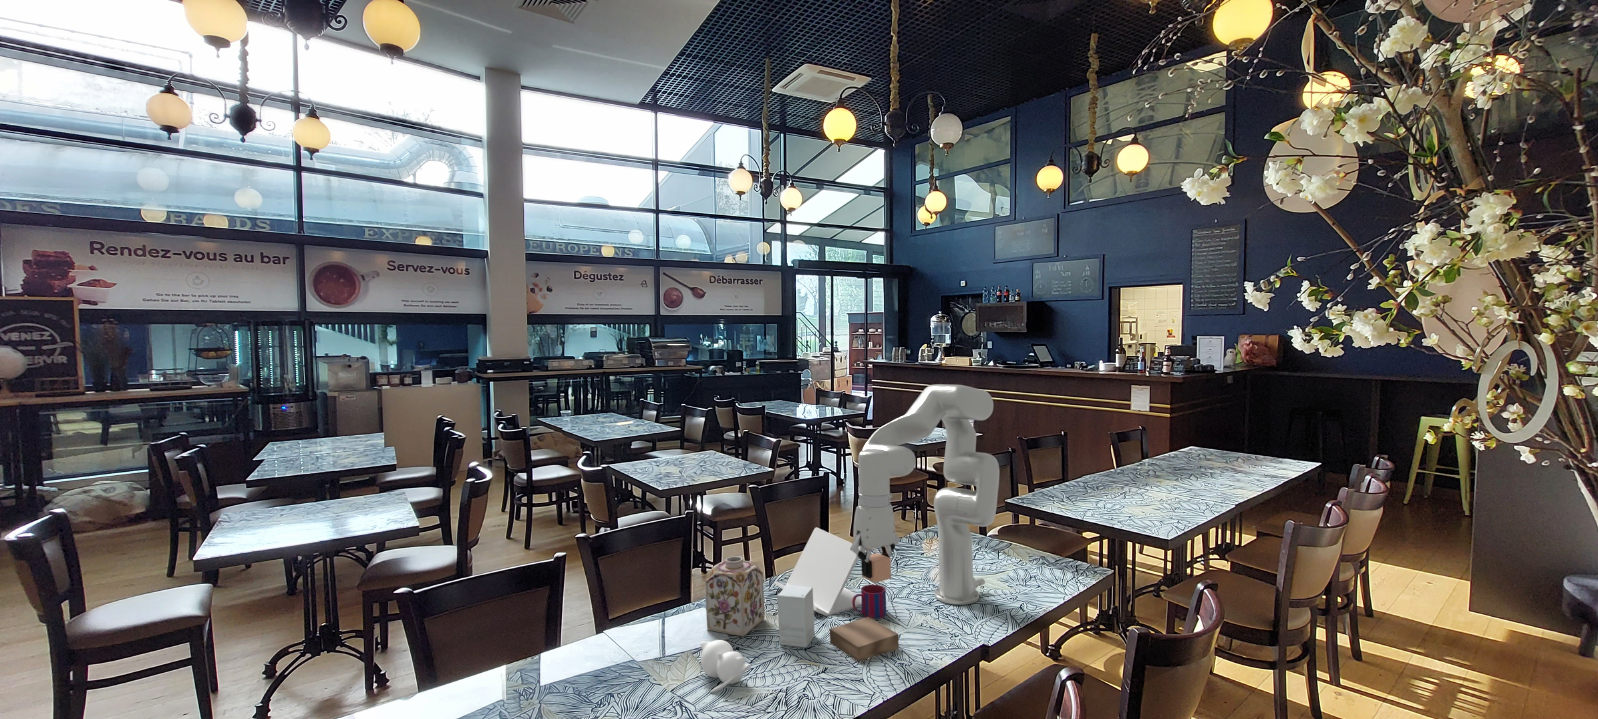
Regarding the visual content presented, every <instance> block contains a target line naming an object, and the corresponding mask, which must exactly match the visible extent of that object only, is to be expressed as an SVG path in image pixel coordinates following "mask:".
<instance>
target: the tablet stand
mask: <svg viewBox="0 0 1598 719" xmlns="http://www.w3.org/2000/svg"><path fill="white" fill-rule="evenodd" d="M852 544H853V543H852V542H851V541H848V540H846V539H843V538H841V537H839V536H837V535H835V534H833V533H830V532H827V531H826V530H824V529H821V528H819V527H814V529H813V531H812V533H811V535H810V537H809V538H808V541H807V542H806V544H805V546H804V548H803V550H802V552H801V554H800V556H799V558H798V559H797V560H798V561H797V562H796V564H795V566H794V568H793V570H792V572H791V574H790V576H789V578H788V580H787V581H786V584H783V583H781V582H779V581H778V580H776V581H775V582H774V584H775V585H776V586H777V587H778V588H780V589H781V590H783V589H784V588H785V587H786V586H787V585H792V586H804V587H813V605H814V612H817V613H819V614H821V615H823V616H825V617H829V616H831V615H835V614H839V613H841V612H845V611H850V610H853V609H854V608H853V605H852V600H853V597H854V596H855V595H856V594H857V593H855V592H853V591H852V590H850V589H848V588H846V587H845V586H846V585H847V583H848V580H849V578H850V576H851V574H852V572H853V570H854V569H855V568H854V567H855V566H856V564H857V562H858V559H859V557H858V556H857V555H856V554H855V553H853V552H852V551H851V550H850V548H851V546H852ZM860 549H861V546H859V550H860ZM855 607H857V608H860V607H862V601H861V596H858V597H857V598H856V600H855Z"/></svg>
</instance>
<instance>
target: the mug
mask: <svg viewBox="0 0 1598 719" xmlns="http://www.w3.org/2000/svg"><path fill="white" fill-rule="evenodd" d="M860 590H861V591H860V593H855V594H856V595H855V596H854V597H853V600H852V605H853V609H854V610H855V612H857V613H860V614H861V615H862V616H863V617H864V618H866V617H869V618H871V619H882V618H884V617H885V616H886V615H887V594H886V593H887V592H886V591H887V590H886V587H885V586H883V585H880V584H866V585H863V586H862V587H861V588H860ZM858 596H861V601H862V606H861V609H860V610H859V609H857V608H856V607H855V600H856V598H857V597H858Z"/></svg>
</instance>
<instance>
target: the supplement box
mask: <svg viewBox="0 0 1598 719" xmlns="http://www.w3.org/2000/svg"><path fill="white" fill-rule="evenodd" d="M776 597H777V611H778V612H777V613H778V615H777V616H778V634H779V635H778V636H779V645H780V646H781V645H782V646H789V647H797V648H798V647H799V648H807V647H808V646H809V644H810V643H811V642H812V640H813V639H814V637H815V635H816V633H815V610H814V605H813V587H804V586H792V585H787V586H786V587H785V588H784V589H781V591H780V592H779V593H778V594H777V595H776Z"/></svg>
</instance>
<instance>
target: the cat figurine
mask: <svg viewBox="0 0 1598 719" xmlns="http://www.w3.org/2000/svg"><path fill="white" fill-rule="evenodd" d="M700 647H701V651H702V652H701V656H700V665H701V668H702V669H703V672H704V673H705V674H706V675H707V676H708V677H710V678H719V680H720V681H721V682H722V683H720V684H719V685H717V686H715V687H714V688H713V689H711V690H710V692H709V693H710V694H714V693H717V692H719V691H720V690H722V689H723V688H725V687H726V686H727V685H732V684H736V683H738V682H739V681H740V680H741V679H742V678H743V676H744V674H745V672H747V670H749V669H751V666H752V665H751V663H748V664H747V663H746V659H747V657H746V656H743V655H742V654H741V653H740V652H738V651H734V649H733V647H732V645H731V644H730V643H729V642H727V641H726V640H723V639H716V640H713V641H710V642H709V641H705V640H704V641H703V640H702V641H701V642H700Z"/></svg>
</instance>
